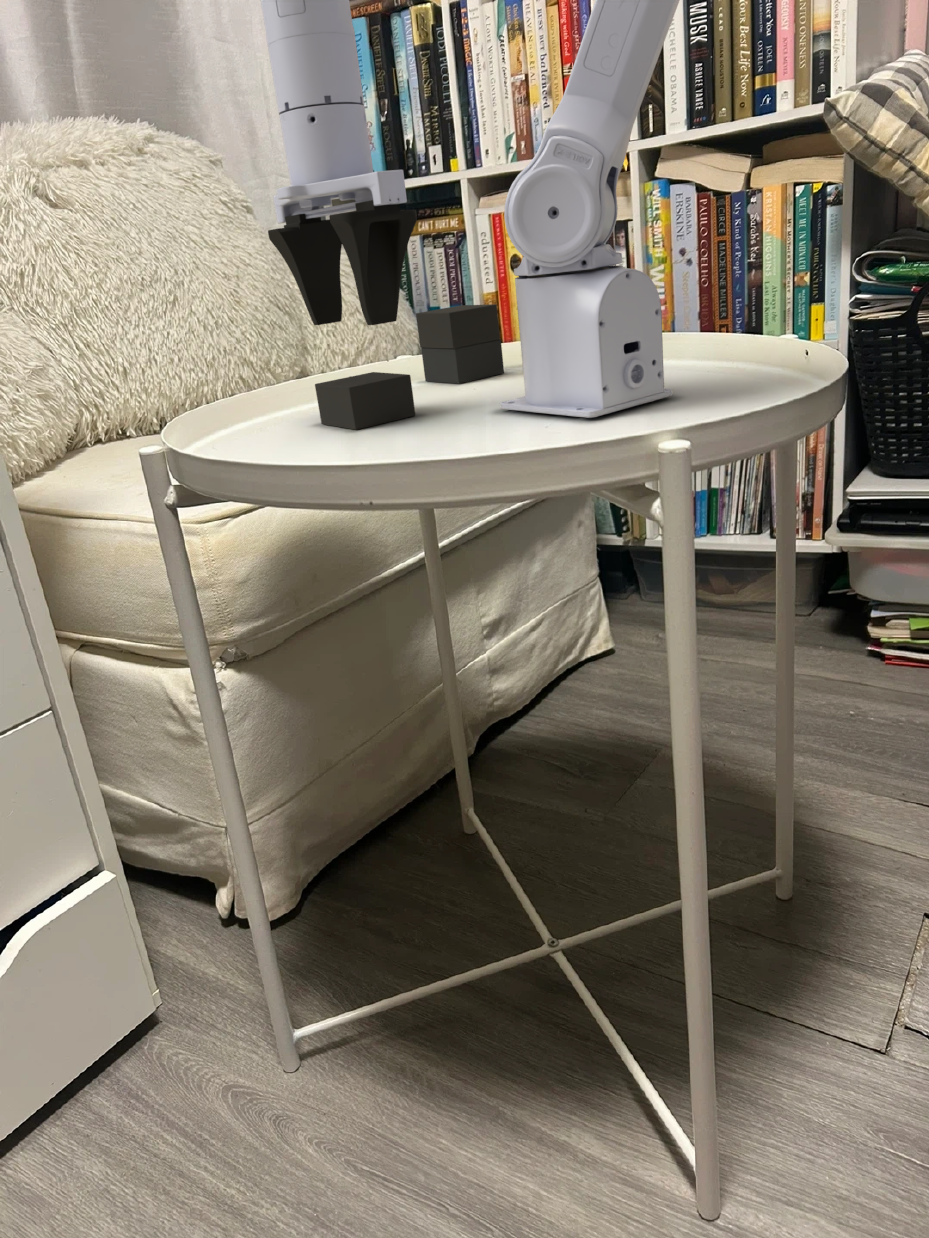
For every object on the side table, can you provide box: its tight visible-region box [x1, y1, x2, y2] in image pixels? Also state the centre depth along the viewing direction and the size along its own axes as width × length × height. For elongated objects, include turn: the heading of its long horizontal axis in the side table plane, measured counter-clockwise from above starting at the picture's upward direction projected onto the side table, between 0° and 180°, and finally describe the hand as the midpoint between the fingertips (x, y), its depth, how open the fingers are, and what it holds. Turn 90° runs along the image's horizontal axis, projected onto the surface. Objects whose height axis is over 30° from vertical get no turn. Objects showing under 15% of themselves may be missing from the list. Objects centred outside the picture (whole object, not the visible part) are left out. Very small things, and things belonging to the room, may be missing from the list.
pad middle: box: [415, 303, 501, 349], centre depth 84 cm, size 5×5×3 cm
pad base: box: [420, 338, 505, 385], centre depth 85 cm, size 5×5×3 cm
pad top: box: [314, 371, 417, 431], centre depth 70 cm, size 5×5×3 cm
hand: (353, 323), depth 68 cm, fingers open, 7 cm apart
